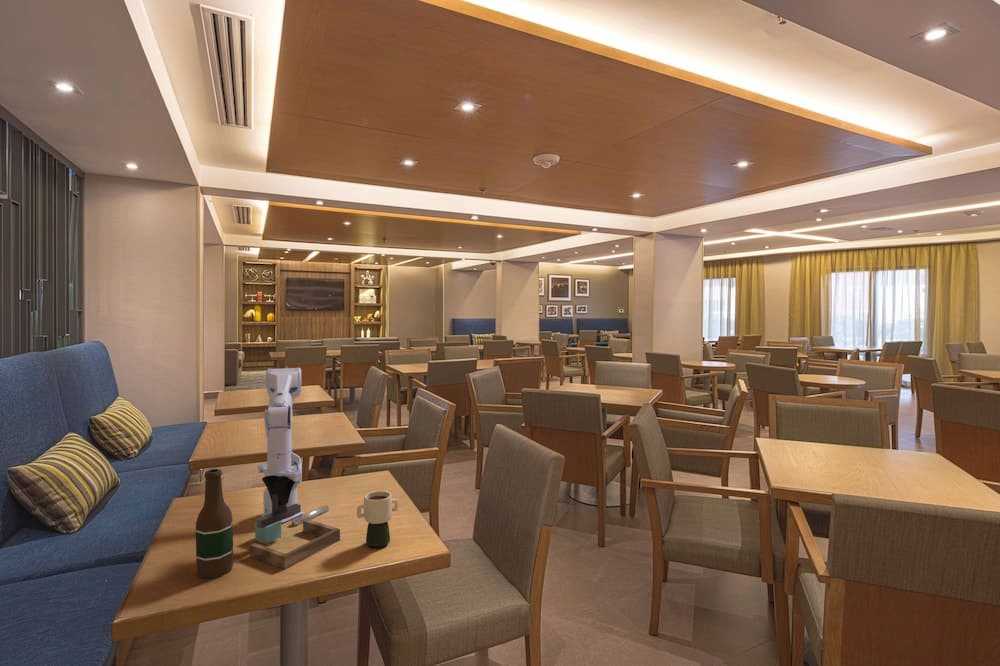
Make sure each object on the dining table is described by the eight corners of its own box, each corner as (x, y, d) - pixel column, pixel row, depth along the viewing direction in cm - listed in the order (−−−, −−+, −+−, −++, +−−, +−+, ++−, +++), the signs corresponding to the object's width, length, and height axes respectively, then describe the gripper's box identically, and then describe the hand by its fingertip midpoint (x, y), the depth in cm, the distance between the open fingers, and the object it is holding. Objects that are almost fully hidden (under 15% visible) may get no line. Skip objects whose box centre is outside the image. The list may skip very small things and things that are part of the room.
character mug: (394, 534, 140) (393, 487, 139) (402, 544, 134) (402, 496, 133) (353, 542, 135) (353, 494, 134) (360, 554, 129) (360, 503, 128)
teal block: (255, 540, 136) (255, 524, 136) (269, 533, 140) (269, 517, 140) (266, 544, 134) (266, 527, 133) (281, 537, 138) (280, 521, 137)
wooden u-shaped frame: (250, 556, 127) (249, 544, 127) (306, 529, 142) (306, 519, 142) (285, 569, 121) (284, 557, 121) (340, 540, 136) (339, 529, 136)
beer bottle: (209, 562, 124) (206, 465, 123) (240, 562, 124) (238, 465, 122) (188, 579, 116) (185, 475, 115) (222, 580, 116) (219, 476, 115)
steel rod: (297, 525, 144) (294, 518, 145) (292, 527, 145) (290, 520, 146) (329, 510, 155) (327, 504, 155) (325, 512, 156) (323, 506, 156)
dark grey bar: (255, 526, 130) (255, 499, 130) (294, 510, 140) (294, 485, 140) (262, 528, 129) (261, 501, 128) (301, 512, 139) (301, 487, 139)
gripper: (247, 452, 134) (248, 502, 135) (285, 460, 127) (285, 513, 128) (270, 445, 140) (271, 494, 141) (308, 453, 133) (308, 504, 134)
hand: (280, 503), depth 135 cm, fingers closed on dark grey bar, 2 cm apart
